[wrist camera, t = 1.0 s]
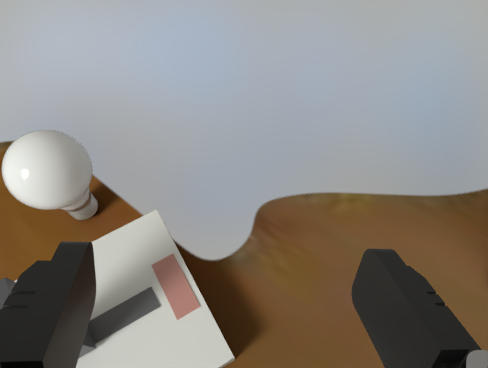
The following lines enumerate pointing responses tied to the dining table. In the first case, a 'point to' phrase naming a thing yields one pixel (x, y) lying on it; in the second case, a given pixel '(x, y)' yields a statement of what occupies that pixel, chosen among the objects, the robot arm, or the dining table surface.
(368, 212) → the dining table surface
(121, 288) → the breaker panel
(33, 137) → the lightbulb
